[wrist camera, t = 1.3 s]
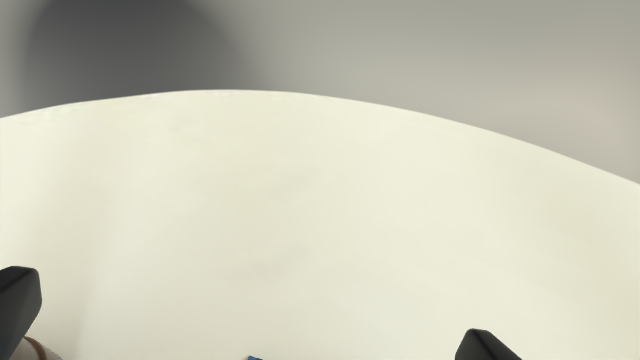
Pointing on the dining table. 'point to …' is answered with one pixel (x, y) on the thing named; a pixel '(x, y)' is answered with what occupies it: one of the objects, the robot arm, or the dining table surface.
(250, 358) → the napkin
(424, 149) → the dining table surface
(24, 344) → the pepper mill
